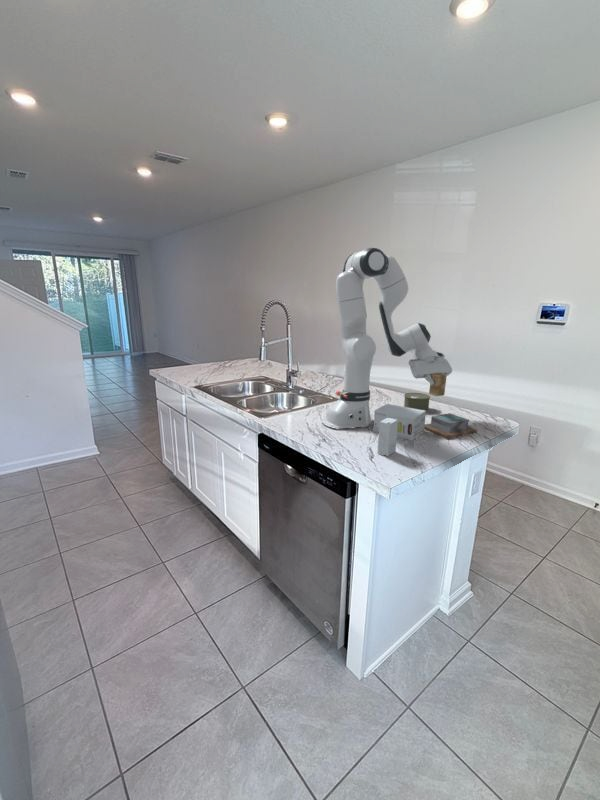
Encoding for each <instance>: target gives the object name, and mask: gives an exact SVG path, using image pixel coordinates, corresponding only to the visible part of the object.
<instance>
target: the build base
mask: <svg viewBox="0 0 600 800" xmlns="http://www.w3.org/2000/svg"><path fill="white" fill-rule="evenodd" d="M430 418H431V421H430V423H425V427H424V431H427V432H429V433H431V434H434V435H435V436H439V437H441V438H442V439H446V440H451V439H454V437H456V438H459V437H458V436H461V437H464V436H463V435H466V436H470V435H469V434H471V435H475V434H474V433H476V434H478V429H477V428H473V427H470V426H469V422H470V420H469V419H467V418H466V417H465V418H464V417H462V416H459V415H456V414H453V413H451V412H449V413H443V414H437V415H432V416H431V417H430ZM450 438H451V439H450Z"/></svg>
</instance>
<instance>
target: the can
mask: <svg viewBox="0 0 600 800" xmlns="http://www.w3.org/2000/svg"><path fill="white" fill-rule="evenodd" d="M430 399H431V396H430V394H426V393H421V392H408V393H404V403H403V404H404V405H403V407H408V408H414V409H419V410H425V411H427V412H428V411H429V408H430V406H429V405H430Z"/></svg>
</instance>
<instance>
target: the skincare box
mask: <svg viewBox="0 0 600 800" xmlns="http://www.w3.org/2000/svg"><path fill="white" fill-rule="evenodd" d="M397 426H398V420H397V419H392V418H386V419H384V420H382V421H380V424H379V433H378V439H377V443H378V444H377V454H378V453H379V454H378V455H381V454H383V455H382V456H384V455H386V456H385V457H389V456H390V455H392V454H393V453H394V452H396V450H397V448H396V447H397V438H398V437H397Z"/></svg>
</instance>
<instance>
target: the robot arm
mask: <svg viewBox="0 0 600 800" xmlns="http://www.w3.org/2000/svg"><path fill="white" fill-rule="evenodd" d="M369 278H373V279H374V280H375V281H376V282H377V285H378V287H379V290H380V293H381V300H380V301H379V304H378V311H379V313H380V319H381V323H382V326H383V330H384V333H385V338H386V346H387V349H388V352H389V353H390V354H391V355H392V356H395V357H402V356H404V355H405V354H406V353H409V352H411V354H412V359H410V360H409V361H408V366H409V368H410V371H411V374H412V376H413V378H414V379H425V380H426V381H427V382H428V383H429V385H430V384H431V385H435V384H436V382H435V380H433V379H432V378H431V374H443V375H447V376H449V375H451V374H452V373H453V368H452V366H451V364H450V363H449V361H448V360H447V359H446V358H445V357H446V355H445V354H444V353H443V352H439V351H436V350H434V349H433V348H432V347H431V346H430V345H429V343H430V342H431V337H432V336H431V334H430V332H429V330H428V329H427V328H426V325H425V324H424V323H419V322H417V323H414V324H413V325H410V326H409V327H406V328H405V329H403V330H400V331H399V332H395V328H394V325H393V321H392V316H393V312H395V310H396V309H397V307H398V306H400V304H401V303H402V302H403V301H405V299H406V297H407V295H408V294H409V293H408V292H409V284H408V281H407V277H406V276H405V273H404V271H403V269H402V267H401V266H400V264H399V262H398V261H397V260H396V258H395V257H394V256H392V255H386V254H385V253H384V251H382V250H381V249H379V248H378V247H377V248H376V247H368V248H367V249H361V250H358V251H356V252H354V253H352V254H350V255H349V256H347V258H346V259H345V261H344V264H343V270H342V272H341V273H339V274H338V275H337V277H336V281H335V291H336V292H335V293H336V296H335V297H336V301H337V309H338V315H339V321H340V336H341V346H342V349H343V351H344V353H345V354H346V362H345V363H346V364H345V368H344V370H343V371H344V372H343V373H344V374H343V389H342V391H339V390H336V392H335V395H336V396H338V397H339V399H337V400H336V401H335V402H334V403H333V404H332V405H330V406H329V407H328V408H327V410H326V411H327V412H326V414H325V415H326V416H325V417H322V418H321V419H322V420H325V421H323V422H324V423H325V424H327V425H329V426H331V427H335V428H349V429H352V428H351V427H361V428H368V427H369V426H370V424H371V423H373V422H372V417H371V412H370V399H371V390H370V383H371V382H370V379H371V369H372V365H373V362H374V356H375V354H376V351H377V347H376V343H375V341H374V339H373V338H372V337H371V336H370V335H368V334H367V317H368V314H367V308H366V307H367V306H366V301H365V299H366V298H365V294H364V289H363V286H364V281H365V280H367V279H369Z"/></svg>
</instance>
